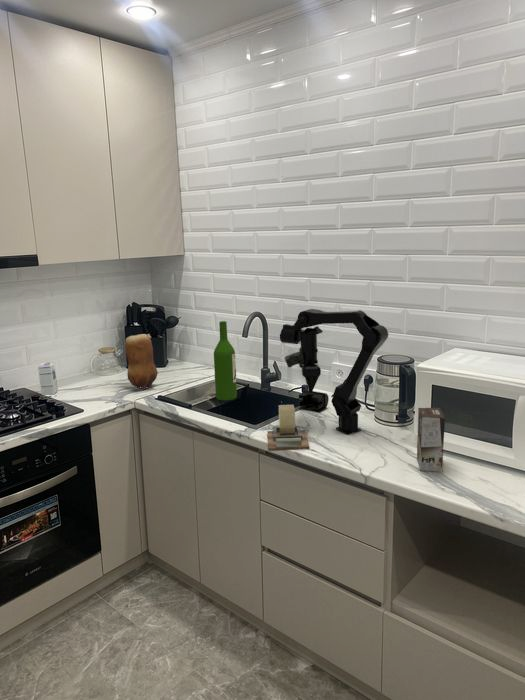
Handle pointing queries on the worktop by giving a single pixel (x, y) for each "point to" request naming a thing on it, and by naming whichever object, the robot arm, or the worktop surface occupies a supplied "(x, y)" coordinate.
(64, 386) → the worktop surface
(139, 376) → the butternut squash
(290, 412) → the tan wooden block
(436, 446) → the coffee box
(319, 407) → the end cap
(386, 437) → the worktop surface
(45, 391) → the syrup box
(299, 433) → the shunted jig
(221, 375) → the wine bottle
